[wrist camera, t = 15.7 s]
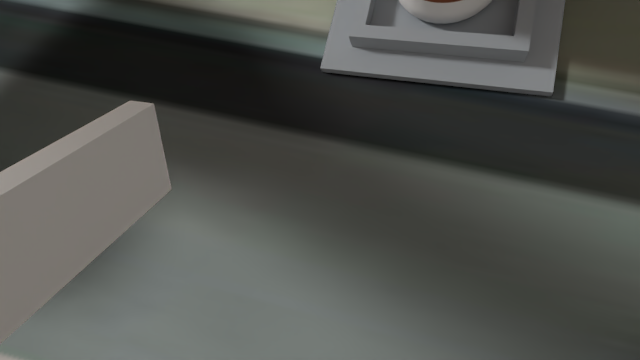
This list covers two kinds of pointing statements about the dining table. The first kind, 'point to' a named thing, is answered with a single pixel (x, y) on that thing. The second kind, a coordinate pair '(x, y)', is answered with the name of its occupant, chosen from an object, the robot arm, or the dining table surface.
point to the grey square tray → (449, 45)
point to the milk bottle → (444, 9)
